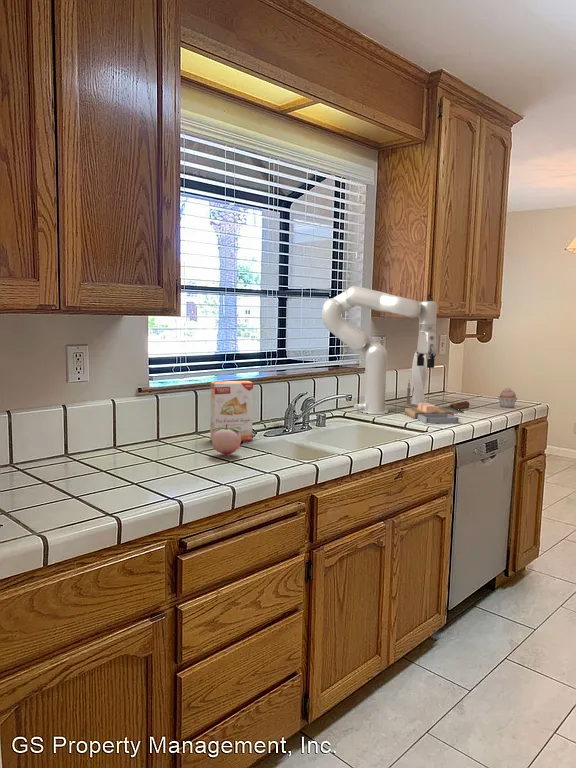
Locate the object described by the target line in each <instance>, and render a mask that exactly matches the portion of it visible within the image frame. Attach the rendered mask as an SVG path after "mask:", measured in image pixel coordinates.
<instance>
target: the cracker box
mask: <svg viewBox="0 0 576 768" xmlns="http://www.w3.org/2000/svg"><path fill="white" fill-rule="evenodd" d="M253 401H254V383H253V382H252V381H249V380H229V381H228V380H226V381H225V380H224V381H222V380H221V381H210V425H209V427H210V433H209V435H210V437H209V438H210V440H211V441H212V436H213V434H214V432H215V431H216V430H218V429H216V430H214V431H212V430H213V429H214V428H217V427H224V428H226V424H227V428H237V429H238V430H240V432H241V433H240V432H239V433H240V436H241V442H245V441H247V442H248V441H253V414H254V413H253V406H254V403H253Z"/></svg>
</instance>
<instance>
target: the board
mask: <svg viewBox="0 0 576 768" xmlns="http://www.w3.org/2000/svg"><path fill="white" fill-rule="evenodd" d="M418 414H450V415H453V416H455V415H454V412H452V411H450V410H447V409H444V408H439V407H436V412H425V411H423V410H420V409H418V407H407V408H406V407H405V408H404V416H406V415H407V416H406V417H408V416H409V417H408V418H410V417H411V419H412V418H413V420H414V419H417V415H418Z"/></svg>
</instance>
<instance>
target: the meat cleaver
mask: <svg viewBox="0 0 576 768" xmlns="http://www.w3.org/2000/svg"><path fill="white" fill-rule="evenodd" d="M469 407H470V402H469V401H468V400H465V401H459V402H452V403H450V404H449V405H446V406H441V407H438V408H444V409H447V410H450V411H452V412H454V414H456V415H459V414H458V413H461V414H465V413H464V412H465V411H463V408H464V409H468V408H469ZM458 409H459V410H458Z"/></svg>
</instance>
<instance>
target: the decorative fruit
mask: <svg viewBox="0 0 576 768" xmlns="http://www.w3.org/2000/svg"><path fill="white" fill-rule="evenodd" d="M216 429H218V430H216ZM214 430H216V431H215V432H214V434H213V436H212V440H211V442H212V447H213V448H214V450H216V451H217V452H218V453H220V454H222V455H224V456H226V455H227V456H229V455H231V454H233V453H236V451H237V450H238V449H239V448H240V446H241V444H242V441H241V436H240V433H241V432H240V430H238V429H237V428H227V424H226V428H224V427H217V428H214V429H213V430H212V431H214ZM239 432H240V433H239Z"/></svg>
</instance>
